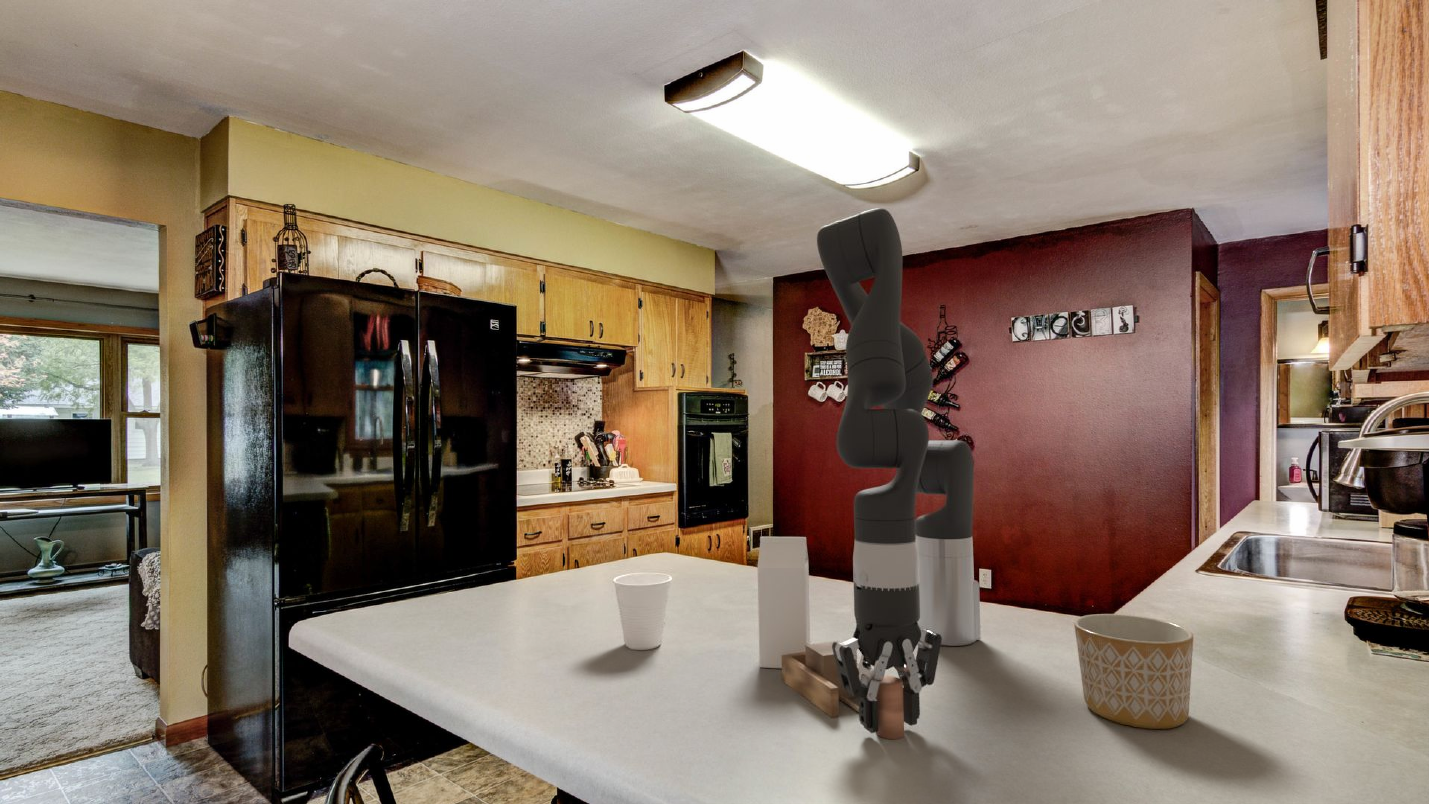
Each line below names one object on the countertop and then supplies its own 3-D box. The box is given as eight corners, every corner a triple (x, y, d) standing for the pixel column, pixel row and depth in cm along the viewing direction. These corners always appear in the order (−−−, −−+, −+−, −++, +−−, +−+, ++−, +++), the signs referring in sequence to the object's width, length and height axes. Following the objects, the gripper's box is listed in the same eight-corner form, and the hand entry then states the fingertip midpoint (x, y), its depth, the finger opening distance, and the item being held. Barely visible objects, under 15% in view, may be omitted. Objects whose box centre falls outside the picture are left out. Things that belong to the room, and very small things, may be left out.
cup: (602, 650, 114) (601, 582, 115) (631, 633, 123) (630, 571, 124) (656, 657, 110) (655, 586, 111) (682, 639, 120) (681, 574, 120)
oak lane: (781, 680, 99) (781, 655, 99) (831, 672, 102) (831, 648, 102) (831, 717, 86) (831, 688, 86) (887, 707, 89) (886, 679, 89)
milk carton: (807, 670, 103) (804, 540, 104) (759, 668, 104) (756, 540, 105) (810, 655, 110) (807, 533, 111) (765, 653, 111) (763, 533, 112)
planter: (1200, 744, 77) (1196, 648, 78) (1072, 720, 84) (1069, 632, 84) (1194, 705, 88) (1190, 621, 89) (1081, 687, 95) (1078, 609, 95)
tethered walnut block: (806, 689, 95) (805, 644, 96) (838, 684, 97) (837, 640, 97) (879, 742, 79) (878, 688, 79) (916, 735, 81) (915, 682, 81)
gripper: (917, 567, 88) (921, 705, 87) (816, 577, 83) (819, 723, 82) (957, 579, 81) (961, 729, 80) (849, 590, 76) (853, 750, 75)
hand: (889, 725), depth 81 cm, fingers open, 4 cm apart
